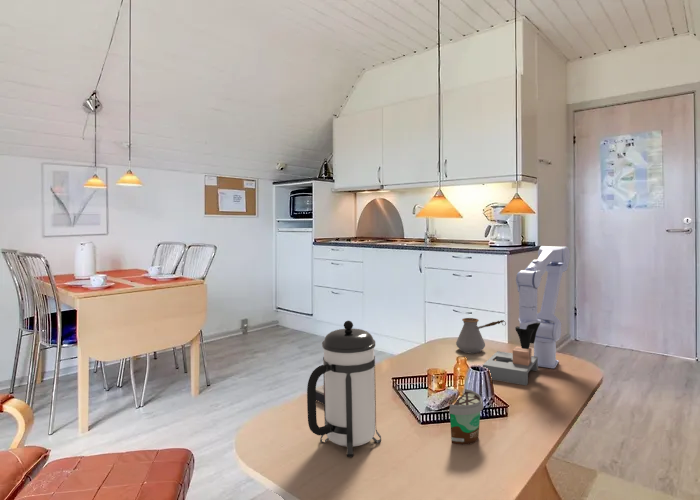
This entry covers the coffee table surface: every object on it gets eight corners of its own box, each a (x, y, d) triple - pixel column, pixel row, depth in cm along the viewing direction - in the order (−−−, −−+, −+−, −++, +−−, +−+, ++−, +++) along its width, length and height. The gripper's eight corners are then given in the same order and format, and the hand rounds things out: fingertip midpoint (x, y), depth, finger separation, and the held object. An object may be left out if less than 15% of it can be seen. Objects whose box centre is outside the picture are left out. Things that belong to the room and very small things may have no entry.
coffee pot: (450, 350, 184) (449, 314, 183) (467, 345, 191) (467, 310, 190) (496, 362, 167) (496, 322, 166) (513, 356, 174) (513, 318, 173)
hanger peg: (516, 367, 157) (516, 346, 156) (531, 370, 154) (531, 348, 153) (512, 371, 153) (512, 350, 152) (528, 374, 150) (528, 352, 149)
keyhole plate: (497, 363, 167) (497, 351, 166) (537, 369, 159) (537, 356, 159) (482, 377, 152) (482, 364, 151) (526, 385, 144) (526, 371, 144)
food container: (475, 452, 104) (475, 410, 103) (449, 446, 107) (449, 405, 106) (489, 430, 114) (489, 392, 113) (465, 425, 117) (465, 388, 117)
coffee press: (321, 426, 118) (318, 314, 116) (382, 428, 116) (380, 314, 114) (308, 462, 101) (304, 330, 99) (379, 465, 99) (377, 331, 97)
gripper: (535, 311, 143) (535, 352, 144) (545, 303, 155) (545, 342, 156) (513, 308, 147) (513, 349, 148) (523, 301, 159) (523, 339, 160)
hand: (527, 345), depth 152 cm, fingers open, 7 cm apart
